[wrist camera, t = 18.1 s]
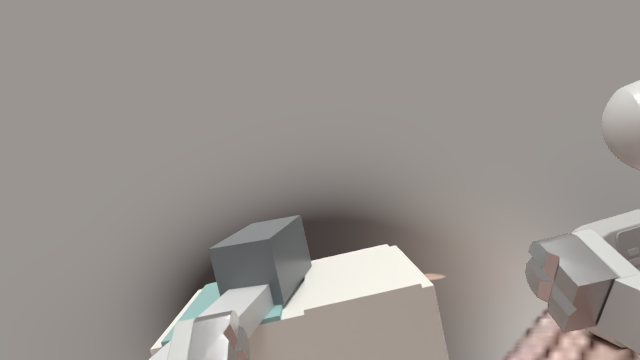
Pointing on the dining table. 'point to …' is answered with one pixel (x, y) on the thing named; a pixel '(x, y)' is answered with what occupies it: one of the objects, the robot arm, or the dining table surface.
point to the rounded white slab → (618, 246)
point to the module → (257, 271)
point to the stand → (345, 312)
